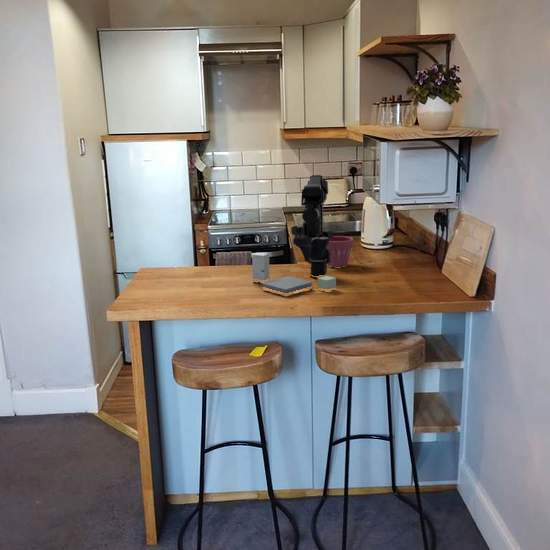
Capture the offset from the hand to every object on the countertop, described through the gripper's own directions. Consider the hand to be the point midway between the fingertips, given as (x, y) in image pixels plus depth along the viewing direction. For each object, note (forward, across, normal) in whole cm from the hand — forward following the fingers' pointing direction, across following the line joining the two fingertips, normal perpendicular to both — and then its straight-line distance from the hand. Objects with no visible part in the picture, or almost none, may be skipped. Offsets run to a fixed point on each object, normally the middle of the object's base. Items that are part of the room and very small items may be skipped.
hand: (313, 259), depth 223 cm
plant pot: (+13, -38, -14) cm, 43 cm away
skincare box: (+13, +2, -26) cm, 29 cm away
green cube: (+12, -2, +4) cm, 13 cm away
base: (+12, +5, -9) cm, 16 cm away
